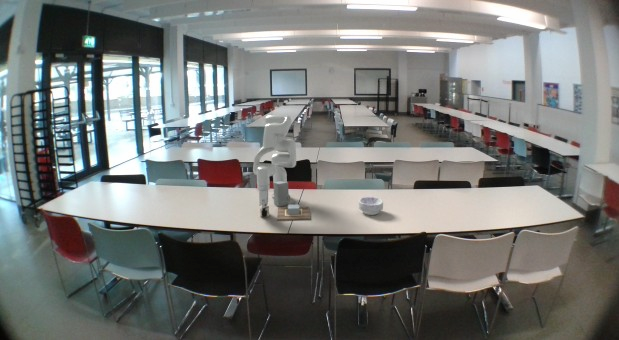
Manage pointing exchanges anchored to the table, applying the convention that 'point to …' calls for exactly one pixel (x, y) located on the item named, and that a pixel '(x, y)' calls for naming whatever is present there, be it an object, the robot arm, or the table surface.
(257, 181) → the robot arm
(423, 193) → the table surface
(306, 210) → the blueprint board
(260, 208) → the maple cube
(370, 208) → the paper bowls
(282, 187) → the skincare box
